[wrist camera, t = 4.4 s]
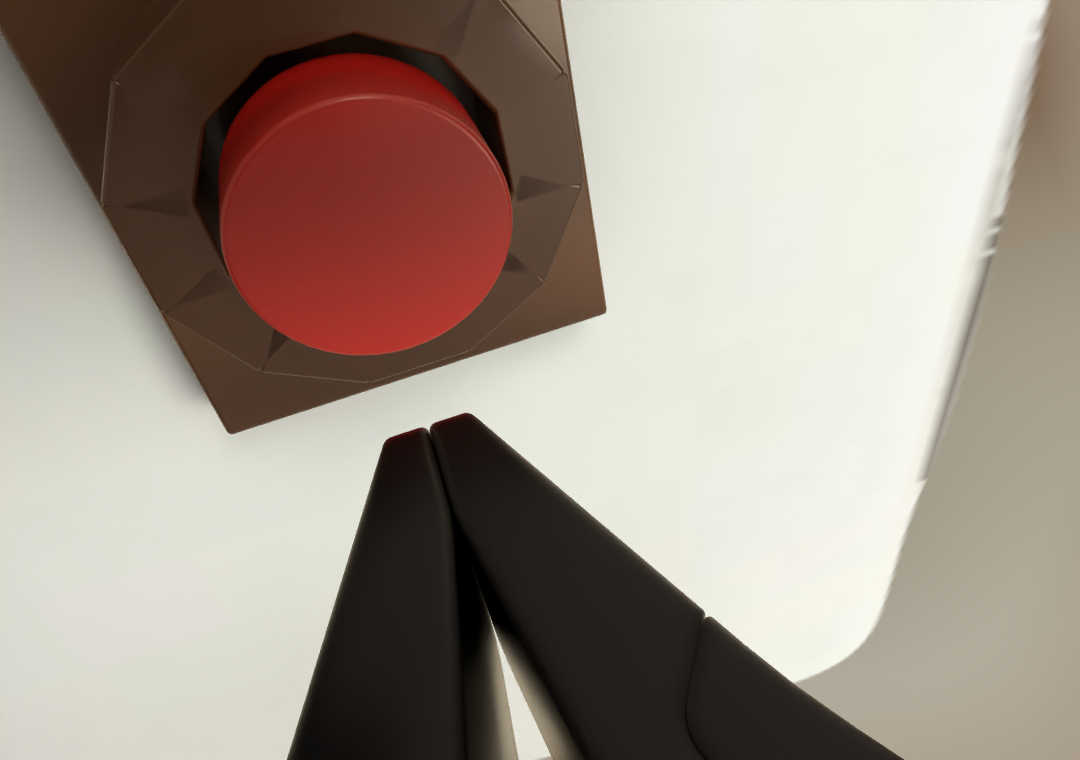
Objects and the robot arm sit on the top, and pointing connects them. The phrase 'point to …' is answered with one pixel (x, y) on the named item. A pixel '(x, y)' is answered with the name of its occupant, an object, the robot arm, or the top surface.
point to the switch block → (209, 110)
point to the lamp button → (360, 206)
